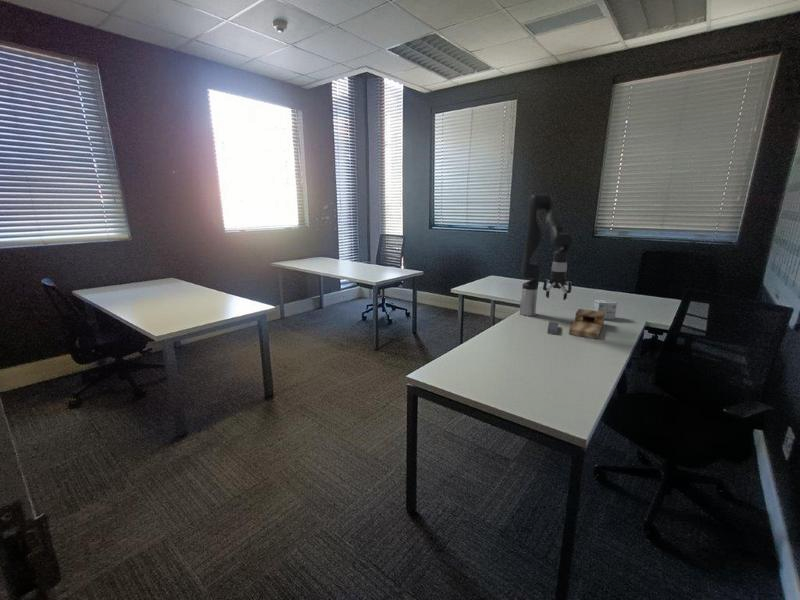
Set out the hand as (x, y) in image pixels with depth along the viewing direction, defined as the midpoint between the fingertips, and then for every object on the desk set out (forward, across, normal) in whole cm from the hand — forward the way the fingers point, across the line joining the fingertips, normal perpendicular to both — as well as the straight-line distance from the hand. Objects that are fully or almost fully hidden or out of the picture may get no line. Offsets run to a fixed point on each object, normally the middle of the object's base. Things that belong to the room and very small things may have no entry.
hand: (556, 298), depth 202 cm
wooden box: (+18, +16, +11) cm, 27 cm away
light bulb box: (+19, +22, +39) cm, 49 cm away
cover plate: (+19, 0, -1) cm, 19 cm away
